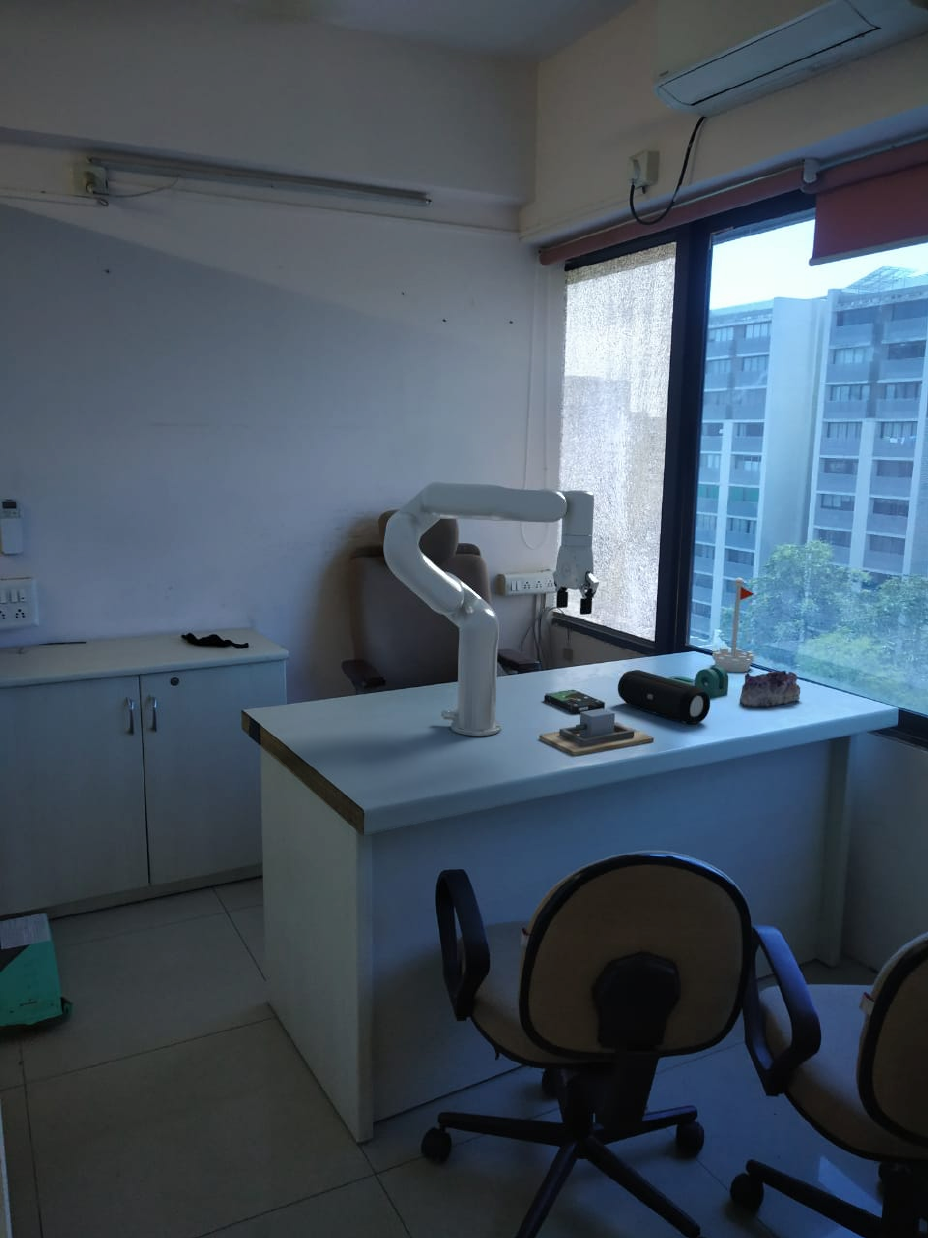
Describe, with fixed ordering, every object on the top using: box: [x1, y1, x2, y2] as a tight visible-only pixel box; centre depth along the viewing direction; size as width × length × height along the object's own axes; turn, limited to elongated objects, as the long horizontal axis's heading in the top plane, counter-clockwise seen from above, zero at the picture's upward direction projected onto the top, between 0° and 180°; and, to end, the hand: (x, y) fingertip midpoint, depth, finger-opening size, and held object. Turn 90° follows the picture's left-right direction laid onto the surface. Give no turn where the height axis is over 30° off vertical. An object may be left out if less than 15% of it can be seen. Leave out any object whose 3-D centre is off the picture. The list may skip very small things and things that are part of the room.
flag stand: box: [711, 577, 755, 673], centre depth 298 cm, size 13×13×30 cm
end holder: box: [539, 721, 655, 757], centre depth 223 cm, size 14×24×2 cm, turn 120°
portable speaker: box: [617, 669, 711, 725], centre depth 246 cm, size 26×10×10 cm, turn 36°
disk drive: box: [543, 689, 606, 715], centre depth 253 cm, size 10×3×15 cm
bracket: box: [667, 666, 729, 699], centre depth 272 cm, size 18×7×8 cm, turn 40°
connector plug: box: [575, 708, 616, 738], centre depth 222 cm, size 4×11×6 cm, turn 121°
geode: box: [739, 670, 801, 709], centre depth 260 cm, size 20×12×10 cm, turn 127°
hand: (573, 610), depth 226 cm, fingers open, 9 cm apart
